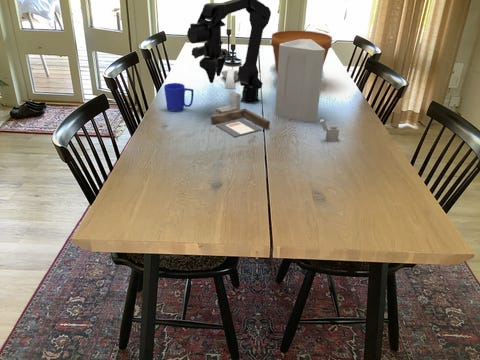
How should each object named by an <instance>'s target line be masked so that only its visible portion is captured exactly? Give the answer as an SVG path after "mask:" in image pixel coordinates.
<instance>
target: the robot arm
mask: <svg viewBox="0 0 480 360" xmlns="http://www.w3.org/2000/svg"><path fill="white" fill-rule="evenodd" d="M244 9H245V11H246V12H247V13H248V14H249V17H248V20H249V22H250V23H249V24H250V26H251V27H250V33H249V38H248V39H249V40H248V43H247V50H246V55H245V61H244V63H243V65H239V66H238V70H239V71H238V74H237V75H238V81H239V84H240V86H241V87H242V91H241V93H242V94H241V95H242V96H241V97H240V101H243V102H245V103H247V104H252V103H257V102H260V101H261V99H260V98H259V90H260V89H262V87H263V82H262V80H261V79H260V78H259V69H258V65H257V63H258V58H259V53H260V48H261V43H262V37H263V33H264V29H265V28H266V27H267V26H268V24H269V22H270V19H271V16H272V11H271V9H270V7H269V6H266V5H265V4H264V3H262V2H261V1H259V0H228V1H224V2H208V3H205V4H204V5H203V8H202V11H201V13H200V15H199V17H198V19H197V21H196V23H190V25H189V26H190V27H189V28H188V30H187V34H186V35H187V39H188V40H189V41H188V42H190V43H191V44H197V43H198V44H199V43H203V42H204V44H203V45H201V46H196V47H193V48H192V50H191V56H193V58H194V59H198V58H200V57H202V56H203V57H202V59H201V60H200V61H199V62H198V63H199V67H200V68H201V69H203V70H204V71H205V73H206V75H207V78H208V80H209V83H210V84H213V83H214V80H215V77H216V76H217V77H220V76H221V75H222V73H221V71H223V69H224V66H225V64H226V61H227V59H228V57H229V51H228V50H227V48H222V45H223V40H222V27H226V23H225V22H223V20H224V19H225V18H226V17H227V16H228V15H230V14H232V13H236V12H238V11H241V10H244Z"/></svg>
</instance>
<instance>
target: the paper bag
mask: <svg viewBox="0 0 480 360" xmlns="http://www.w3.org/2000/svg"><path fill="white" fill-rule="evenodd" d="M324 54H325V49H324V48H322V47H321V46H320V45H318V44H317V43H315V42H314V41H313V40H311V39H299V40H294V41H290V42H285V43H281V44H279V60H278V75H277V74H276V75H277V77H276V78H277V79H276V94H275V107H274V110H275V111H274V115H275V116H276V117H278V118H279V117H280V118H284V119H288V120H293V121H297V122H302V123H317V122H318V114H319V103H320V95H321V86H322V81H323V79H322V78H323V70H324V65H323V63H324V64H325V62H324Z"/></svg>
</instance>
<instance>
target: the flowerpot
mask: <svg viewBox="0 0 480 360" xmlns="http://www.w3.org/2000/svg"><path fill="white" fill-rule="evenodd" d="M299 39H311V40H313V41H314V42H315V43H317V44H318V45H320V46H321V47H322V48H324V49H325V54H324V63H323V66H324V65H325V62H326V58H327V56H328V53H329V50H330V49H331V48H332V41H333V38H332V36H331V35H329V34H326V33H322V32H317V31H309V30H308V31H307V30H283V31H276V32H274V33H272V34H271V46H272V50H273V56H274V62H275V70H276V75H278V60H279V44H281V43H285V42H290V41H294V40H299Z"/></svg>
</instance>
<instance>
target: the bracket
mask: <svg viewBox="0 0 480 360" xmlns="http://www.w3.org/2000/svg"><path fill="white" fill-rule="evenodd" d="M241 95H242V94H240V93H237V92H235V91H230V92H229V105H225V106H219V107H215V112H216V113H218V115H219V114H224V113H228V112H233V111H237V110H241V98H242V96H241Z"/></svg>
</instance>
